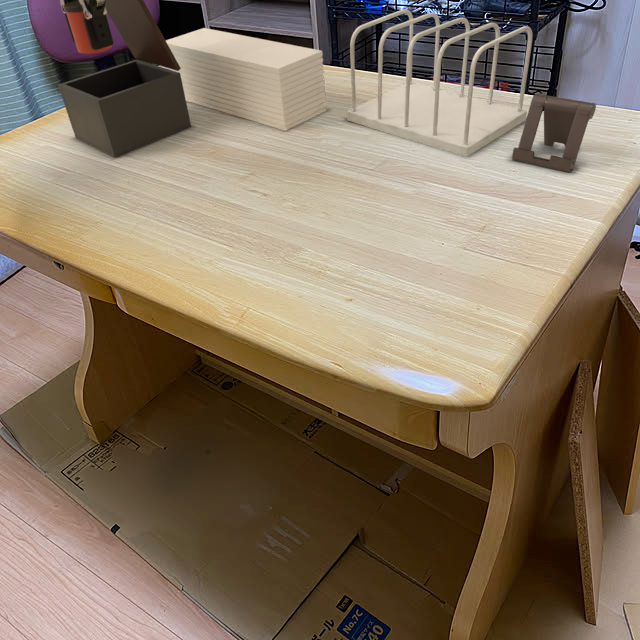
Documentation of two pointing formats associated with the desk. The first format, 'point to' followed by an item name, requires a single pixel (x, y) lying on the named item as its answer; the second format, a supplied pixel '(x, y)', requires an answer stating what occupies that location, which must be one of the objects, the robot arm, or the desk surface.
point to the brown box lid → (141, 32)
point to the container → (80, 28)
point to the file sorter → (439, 96)
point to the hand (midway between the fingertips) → (93, 42)
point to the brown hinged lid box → (126, 106)
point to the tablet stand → (555, 130)
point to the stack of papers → (251, 77)
